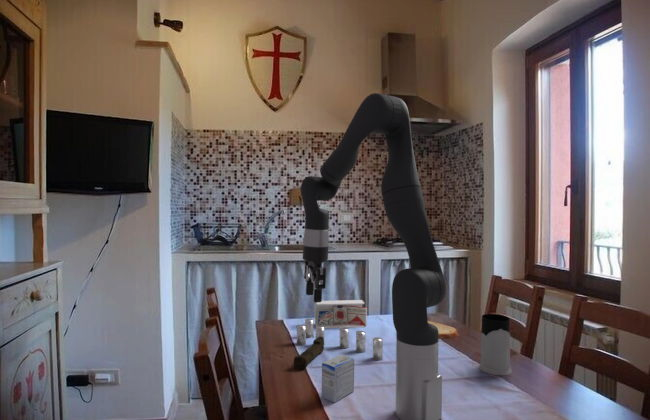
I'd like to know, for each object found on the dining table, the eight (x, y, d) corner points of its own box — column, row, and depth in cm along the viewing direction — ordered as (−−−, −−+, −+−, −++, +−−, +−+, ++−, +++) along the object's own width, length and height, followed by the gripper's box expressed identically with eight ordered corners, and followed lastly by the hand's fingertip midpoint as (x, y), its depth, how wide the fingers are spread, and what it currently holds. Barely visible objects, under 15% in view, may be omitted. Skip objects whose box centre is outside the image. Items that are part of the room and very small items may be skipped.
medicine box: (340, 386, 106) (340, 353, 106) (354, 392, 104) (354, 357, 104) (320, 397, 100) (321, 362, 100) (335, 403, 98) (335, 367, 97)
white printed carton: (316, 328, 157) (316, 304, 156) (314, 324, 162) (315, 300, 162) (367, 327, 159) (367, 303, 159) (364, 323, 164) (364, 299, 164)
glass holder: (485, 375, 114) (485, 321, 114) (468, 356, 129) (469, 308, 129) (516, 375, 114) (517, 321, 114) (497, 356, 128) (497, 308, 128)
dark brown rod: (305, 371, 117) (305, 355, 117) (292, 369, 118) (293, 353, 118) (331, 350, 134) (331, 336, 134) (319, 348, 136) (320, 334, 136)
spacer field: (386, 357, 127) (386, 338, 127) (358, 368, 118) (358, 348, 118) (315, 332, 151) (316, 316, 151) (287, 340, 142) (287, 323, 142)
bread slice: (462, 338, 147) (462, 327, 147) (416, 341, 143) (416, 331, 143) (438, 324, 165) (438, 314, 165) (396, 326, 161) (396, 317, 161)
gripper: (335, 247, 116) (333, 304, 117) (320, 241, 129) (318, 292, 130) (310, 247, 114) (307, 305, 114) (297, 241, 127) (295, 292, 128)
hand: (313, 298), depth 122 cm, fingers open, 8 cm apart
